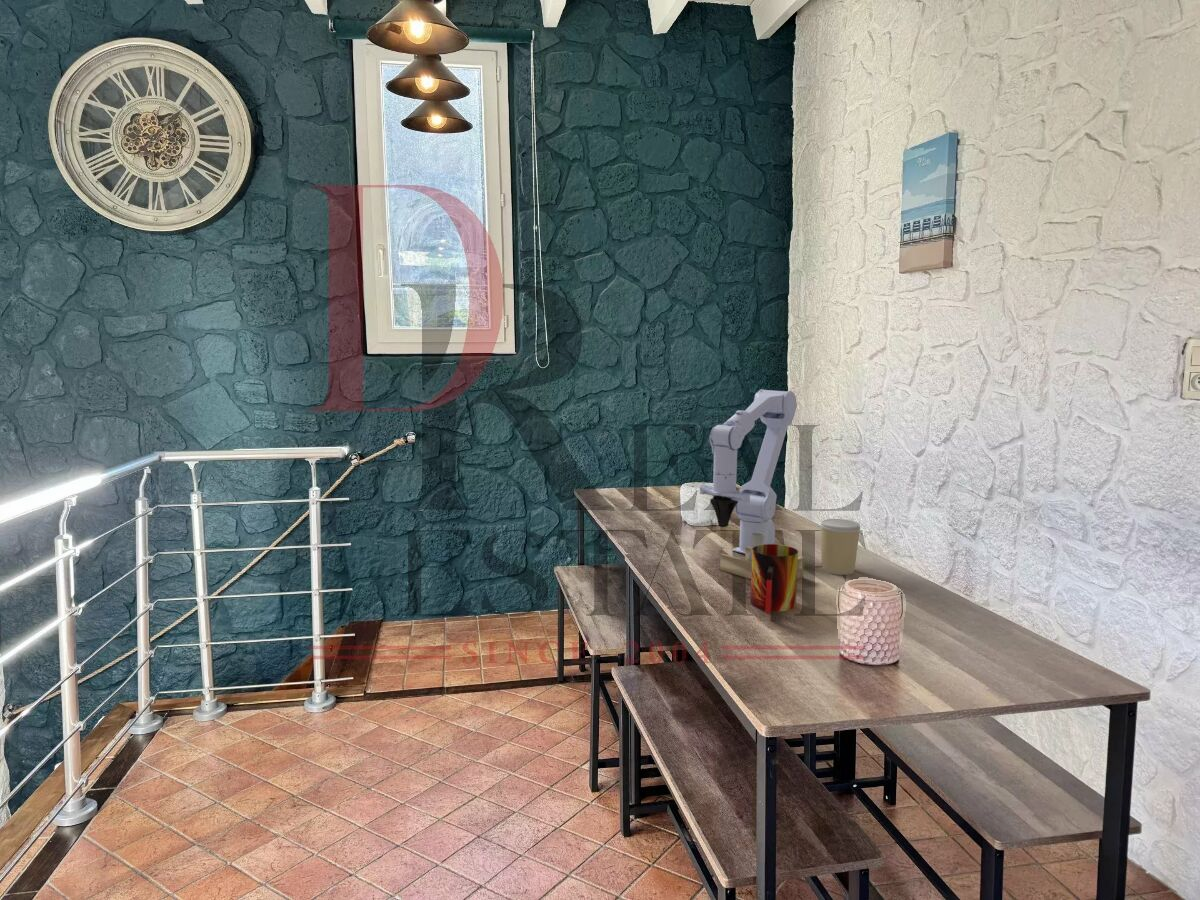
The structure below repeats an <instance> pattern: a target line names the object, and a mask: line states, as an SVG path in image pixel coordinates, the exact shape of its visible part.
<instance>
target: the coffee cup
mask: <svg viewBox="0 0 1200 900" xmlns="http://www.w3.org/2000/svg"><path fill="white" fill-rule="evenodd" d="M860 531H861V526H860V523H859V522H856V521H854V520H851V519H850V520H849V519H844V518H827V519H824V520H822V521H821V523H820V543H821V544H820V545H821V550H820V551H821V570H822V571H823V572H825V573H827V574H832V575H837V576H838V575H839V576H848V575H852V574H854V572H855V568H856V560H857V554H858V553H857V552H858V545H859V540H860V539H859V537H860Z"/></svg>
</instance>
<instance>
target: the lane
mask: <svg viewBox="0 0 1200 900" xmlns="http://www.w3.org/2000/svg"><path fill="white" fill-rule="evenodd" d="M750 550H751V547H746V551H745V554H744V558H745V559H744V558H741V557H736V556H732V555H729V554H726V553H720V554H719V555H720V556H719V557H720V559H719V570H720V571H723V572H727V573H729V574H733V575H737V576H739V577H742V578H746V579H750V580H751V571H752V562H751V561H748V560H747V558H748V555H749V553H750ZM804 569H805V557H804V556H798V564H797V581H798V580H800V579H803V578H804V572H805V571H804Z"/></svg>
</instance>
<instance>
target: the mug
mask: <svg viewBox="0 0 1200 900" xmlns="http://www.w3.org/2000/svg"><path fill="white" fill-rule="evenodd" d="M798 557H799V550H797V549H796V548H794V547H792V546H788V545H784V544H777V543H775V544H763V545H757V546H754V547H753V548H752V571H751V579H750V604H751V606H753V607H755V608H757V609H759V610H763V611H765V612H764V613H765V614H769V615H770V614H771V613H772V612H786V611H791V610H793V609H795V607H796V604H797V587H798V586H797V583H798V580H797V564H798Z"/></svg>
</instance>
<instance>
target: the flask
mask: <svg viewBox="0 0 1200 900" xmlns="http://www.w3.org/2000/svg"><path fill="white" fill-rule="evenodd" d="M752 537H753V541H752V546H751V550H750V553H749V555H748V558H747V560H748V561H751V562H752V548H753V547H754V546H757V545H763V537H764V534H763V533H756V532H755V533H752Z"/></svg>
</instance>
